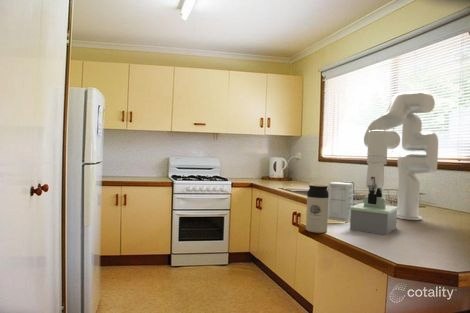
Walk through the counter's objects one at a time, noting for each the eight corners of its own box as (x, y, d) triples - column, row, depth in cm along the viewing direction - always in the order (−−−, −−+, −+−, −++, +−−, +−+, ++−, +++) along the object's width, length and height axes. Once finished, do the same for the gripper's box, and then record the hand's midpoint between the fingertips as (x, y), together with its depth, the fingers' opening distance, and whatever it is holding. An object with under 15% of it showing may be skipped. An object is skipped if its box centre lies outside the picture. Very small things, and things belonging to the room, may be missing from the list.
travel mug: (311, 228, 150) (313, 183, 150) (330, 231, 145) (332, 184, 145) (302, 230, 144) (304, 183, 144) (321, 234, 139) (323, 185, 139)
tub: (362, 223, 165) (363, 205, 165) (396, 228, 158) (397, 209, 157) (349, 229, 150) (350, 209, 150) (386, 234, 143) (387, 213, 142)
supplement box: (352, 219, 175) (354, 183, 175) (347, 222, 168) (349, 184, 167) (332, 216, 180) (334, 181, 180) (326, 219, 172) (328, 182, 172)
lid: (362, 207, 166) (362, 193, 166) (398, 211, 158) (399, 197, 158) (349, 212, 150) (349, 196, 150) (388, 217, 142) (389, 201, 142)
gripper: (372, 160, 163) (370, 200, 163) (361, 159, 148) (359, 203, 149) (391, 161, 159) (389, 202, 159) (381, 160, 144) (379, 206, 144)
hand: (374, 202), depth 154 cm, fingers open, 8 cm apart
